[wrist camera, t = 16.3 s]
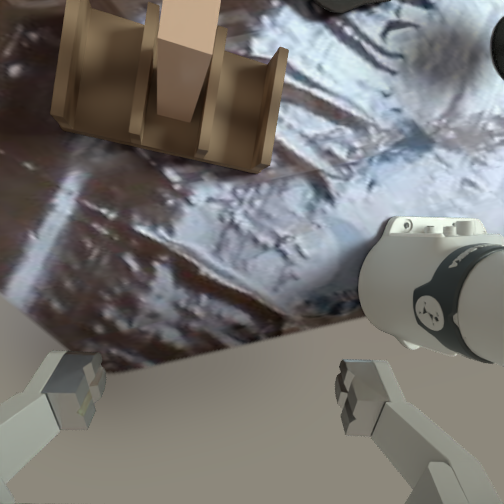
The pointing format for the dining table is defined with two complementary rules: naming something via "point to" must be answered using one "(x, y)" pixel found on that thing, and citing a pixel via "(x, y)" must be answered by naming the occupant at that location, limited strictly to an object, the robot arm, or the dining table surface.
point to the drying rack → (145, 92)
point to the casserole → (344, 4)
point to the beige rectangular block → (184, 54)
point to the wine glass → (499, 47)
